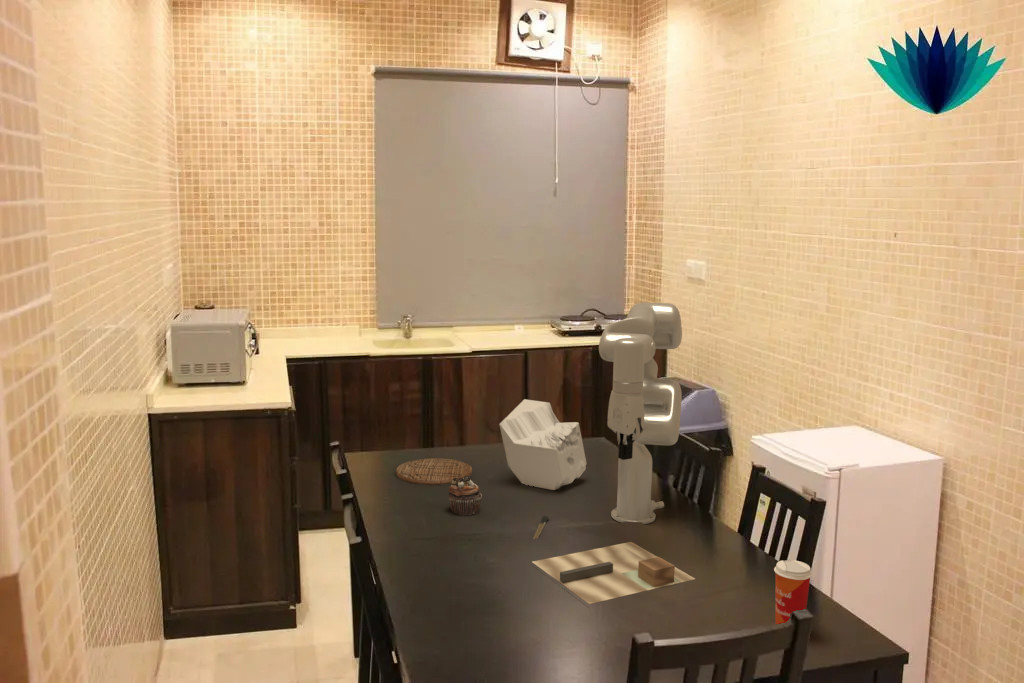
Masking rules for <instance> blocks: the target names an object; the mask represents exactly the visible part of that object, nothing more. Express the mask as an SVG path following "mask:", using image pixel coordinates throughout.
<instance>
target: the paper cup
mask: <svg viewBox="0 0 1024 683" xmlns="http://www.w3.org/2000/svg"><path fill="white" fill-rule="evenodd" d="M773 571H774V572H775V591H774V593H775V596H774V597H775V600H774V601H775V615H774V616H775V617H774V618H775V625H776V624H781V623H786V622H787V621H788V620H789V618H790V614H791V613H792V612H793V611H796V610H803V609H806V610H807V606H808V598H809V591H810V584H811V577H813V572H812V571H811V567H810V565H809V564H808V563H806V562H803V561H799V560H795V559H792V560H790V559H789V560H779V561H778V562H776V566H774V568H773Z"/></svg>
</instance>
